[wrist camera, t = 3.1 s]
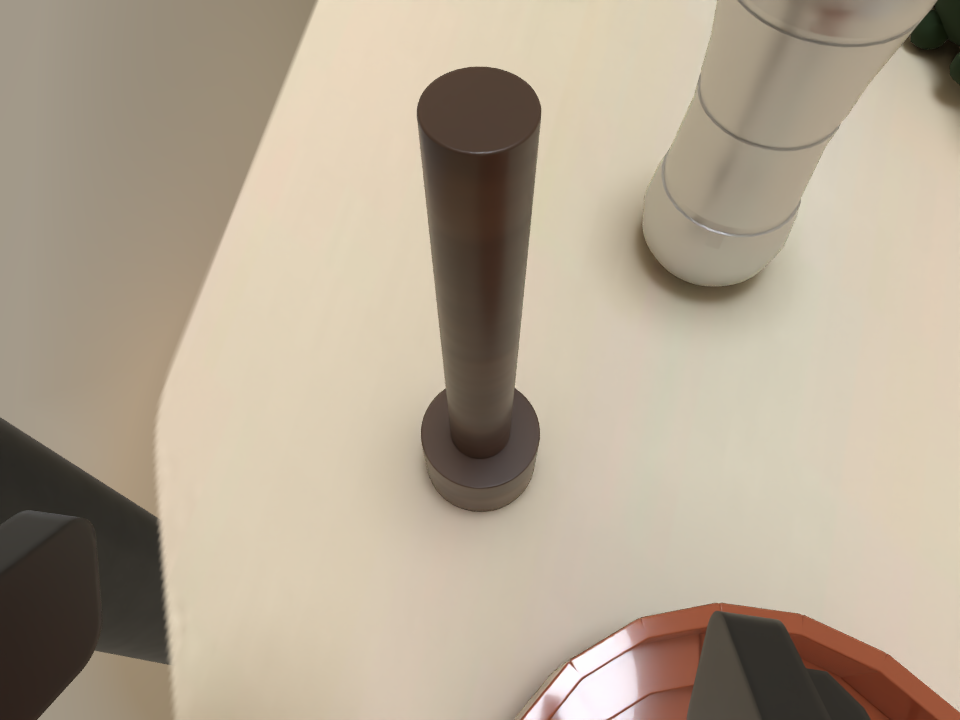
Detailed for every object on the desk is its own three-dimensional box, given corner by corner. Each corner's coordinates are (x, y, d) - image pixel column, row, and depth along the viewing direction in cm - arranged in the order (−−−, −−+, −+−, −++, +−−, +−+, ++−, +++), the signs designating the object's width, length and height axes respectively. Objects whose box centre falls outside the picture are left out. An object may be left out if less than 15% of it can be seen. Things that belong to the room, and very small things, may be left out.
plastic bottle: (758, 196, 34) (1050, -361, 17) (777, 310, 31) (1164, -228, 14) (629, 190, 35) (784, -366, 17) (635, 303, 31) (834, -237, 14)
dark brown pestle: (418, 503, 27) (327, 190, 11) (436, 403, 29) (381, 16, 13) (528, 518, 27) (597, 218, 11) (539, 416, 29) (610, 36, 13)
